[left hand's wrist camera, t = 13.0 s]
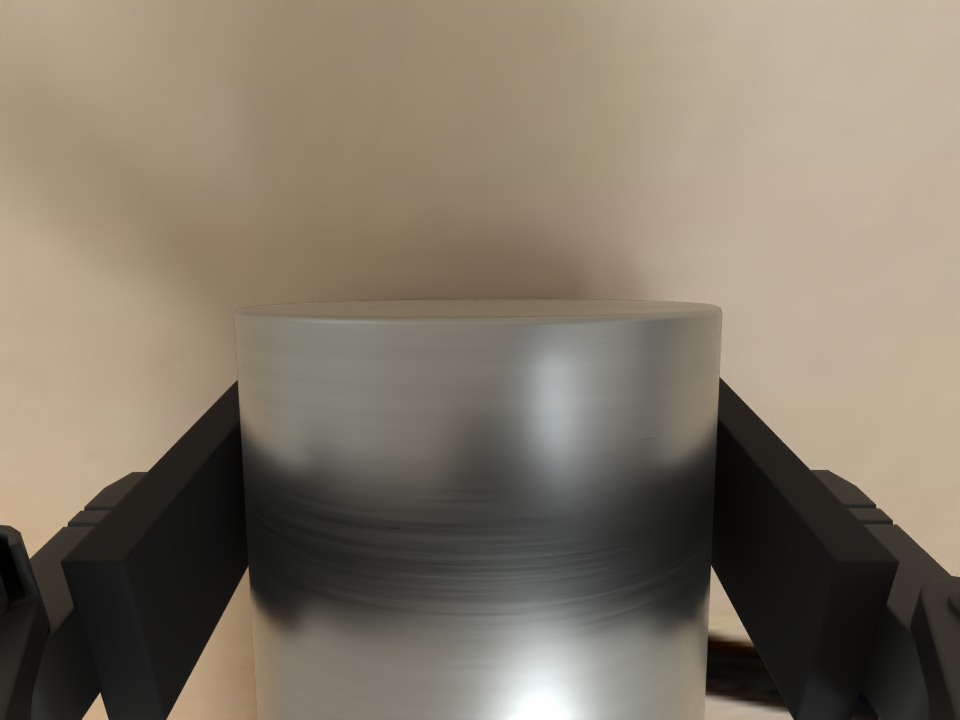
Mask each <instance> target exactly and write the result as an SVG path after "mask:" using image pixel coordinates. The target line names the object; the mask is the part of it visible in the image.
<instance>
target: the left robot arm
mask: <svg viewBox="0 0 960 720" xmlns="http://www.w3.org/2000/svg"><path fill="white" fill-rule="evenodd" d="M248 565H249V563H248V545H247V528H246V511H245V493H244V476H243V459H242V441H241V424H240V406H239V389H238V380H237V381H236V382H235V383H234V384H233V385H232V386H231V387H230V388H229V389H228V390H227V391H226V392H225V393H224V394H223V395H222V396H221V397H220V398H219V399H218V400H217V401H216V402H215V403H214V405H213V406H212V407H211V408H210V409H209V410H208V411H207V412H206V413H205V414H204V415H203V416H202V417H201V418H200V419H199V420H198V421H197V422H196V423H195V424H194V425H193V426H192V427H191V428H190V429H189V430H188V431H187V432H186V433H185V434H184V435H183V436H182V437H181V438H180V439H179V440H178V441H177V443H176V444H175V445H174V446H173V447H172V448H171V449H170V450H169V451H168V452H167V453H166V454H165V455H164V456H163V457H162V458H161V459H160V460H159V461H158V462H157V463H156V464H155V465H154V466H153V467H152V468H151V469H150V470H149V471H148V472H132V473H130V474H129V475H127V476H125V477H123V478H121V479H120V480H118V481H116V482H114V483H113V484H111V485H109V486H107V487H106V488H104V489H103V490H102V491H101V492H100V493H99V494H98V495H97V496H96V497H95V498H93V499H92V500H91V501H90V502H89V503H88V504H87V505H86V506H85V509H84V511H80V512H79V513H78V514H77V515H76V516H75V517H73V518H72V519H71V520H70V521H69V522H68V526H67V527H63V528H62V529H61V530H60V531H59V532H58V533H57V534H56V535H55V536H53V537H52V538H51V539H50V540H49V541H48V542H47V543H46V544H45V545H44V546H43V547H42V548H41V549H40V550H39V551H38V552H37V553H36V554H35V555H34V556H32V557H31V558H30V559H29V557H28V554H27V551H26V548H25V545H24V542H23V539H22V536H21V533H20V532H19V531H17V530H16V529H14V528H13V527H11V526H5V525H0V720H82V718H83V717H84V715H85V714H86V712H87V711H88V709H89V708H90V706H91V705H92V703H93V702H94V700H95V699H96V698H97V696H98V695H99V693H101V696H102V699H103V702H104V706H105V709H106V712H107V715H108V719H109V720H166V719H167V717H168V715H169V714H170V712H171V710H172V708H173V706H174V704H175V702H176V700H177V699H178V697H179V695H180V693H181V691H182V689H183V687H184V685H185V684H186V682H187V680H188V678H189V676H190V674H191V672H192V670H193V669H194V667H195V665H196V663H197V661H198V659H199V657H200V655H201V654H202V652H203V650H204V648H205V646H206V644H207V642H208V640H209V639H210V637H211V635H212V633H213V631H214V629H215V627H216V625H217V624H218V622H219V620H220V618H221V616H222V614H223V612H224V610H225V608H226V607H227V605H228V603H229V601H230V599H231V597H232V595H233V593H234V592H235V590H236V588H237V586H238V584H239V582H240V580H241V578H242V577H243V575H244V573H245V571H246V569H247V567H248ZM711 565H712V567H713V569H714V571H715V573H716V575H717V577H718V579H719V580H720V582H721V584H722V586H723V588H724V590H725V592H726V594H727V595H728V597H729V599H730V601H731V603H732V605H733V607H734V609H735V610H736V612H737V614H738V616H739V618H740V620H741V622H742V624H743V625H744V627H745V629H746V631H747V633H748V635H749V637H750V639H751V640H752V642H753V644H754V646H755V648H756V650H757V652H758V654H759V655H760V657H761V659H762V661H763V663H764V665H765V667H766V669H767V670H768V672H769V674H770V676H771V678H772V680H773V682H774V684H775V685H776V687H777V689H778V691H779V693H780V695H781V697H782V699H783V701H784V702H785V704H786V706H787V708H788V710H789V712H790V714H791V716H792V717H793V719H794V720H851V719H852V715H853V712H854V709H855V705H856V702H857V699H858V696H859V692H860V690H861V691H862V693H863V694H864V696H865V697H866V699H867V700H868V702H869V703H870V705H871V706H872V708H873V709H874V710H875V712H876V713H877V715H878V716H879V718H878V720H960V577H955V576H951V575H950V574H949V573H948V572H947V571H946V570H945V569H943V568H942V567H941V566H940V565H939V564H938V563H937V562H936V561H935V560H934V559H933V558H932V557H931V556H930V555H929V554H928V553H927V552H925V551H924V550H923V549H922V548H921V547H920V546H919V545H918V544H917V543H916V542H915V541H914V540H913V539H912V538H911V537H910V536H909V535H907V534H906V533H905V532H904V531H903V530H902V529H901V528H900V527H899V526H898V525H893V520H892V519H891V518H889V517H888V516H887V515H886V514H885V513H884V512H883V511H882V510H881V509H877V508H876V504H875V503H874V502H873V501H871V500H870V499H869V498H868V497H867V496H866V495H865V494H864V493H863V492H862V491H861V490H860V489H859V488H858V487H857V486H855V485H853V484H852V483H850V482H848V481H846V480H844V479H843V478H841V477H839V476H837V475H836V474H834V473H832V472H830V471H828V470H810V469H809V468H808V467H807V466H806V465H805V464H804V463H803V462H802V461H801V460H800V459H799V458H798V457H797V456H796V455H795V454H794V453H793V452H792V451H791V450H790V449H789V448H788V447H787V446H786V445H785V444H784V443H783V442H782V440H781V439H780V438H779V437H778V436H777V435H776V434H775V433H774V432H773V431H772V430H771V429H770V428H769V427H768V426H767V425H766V424H765V423H764V422H763V421H762V420H761V419H760V418H759V417H758V416H757V415H756V414H755V413H754V412H753V411H752V410H751V409H750V408H749V407H748V406H747V405H746V404H745V402H744V401H743V400H742V399H741V398H740V397H739V396H738V395H737V394H736V393H735V392H734V391H733V390H732V389H731V388H730V387H729V386H728V385H727V384H726V383H725V382H724V381H723V380H722V379H721V378H720V377H719V396H718V419H717V441H716V463H715V486H714V508H713V530H712V553H711Z"/></svg>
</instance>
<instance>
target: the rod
mask: <svg viewBox="0 0 960 720" xmlns="http://www.w3.org/2000/svg"><path fill="white" fill-rule="evenodd" d="M234 320H235V337H236V354H237V372H238V389H239V406H240V424H241V441H242V459H243V476H244V493H245V511H246V528H247V545H248V563H249V580H250V597H251V615H252V632H253V649H254V667H255V684H256V701H257V719H258V720H704V709H705V687H706V664H707V642H708V620H709V597H710V575H711V553H712V530H713V508H714V486H715V463H716V441H717V419H718V396H719V374H720V351H721V329H722V311H721V308H720V307H718V306H715V305H711V304H702V303H690V302H671V301H644V300H598V299H433V300H378V301H341V302H314V303H293V304H275V305H262V306H252V307H246V308H242V309H239V310H237V311H236V312H235V315H234Z"/></svg>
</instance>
